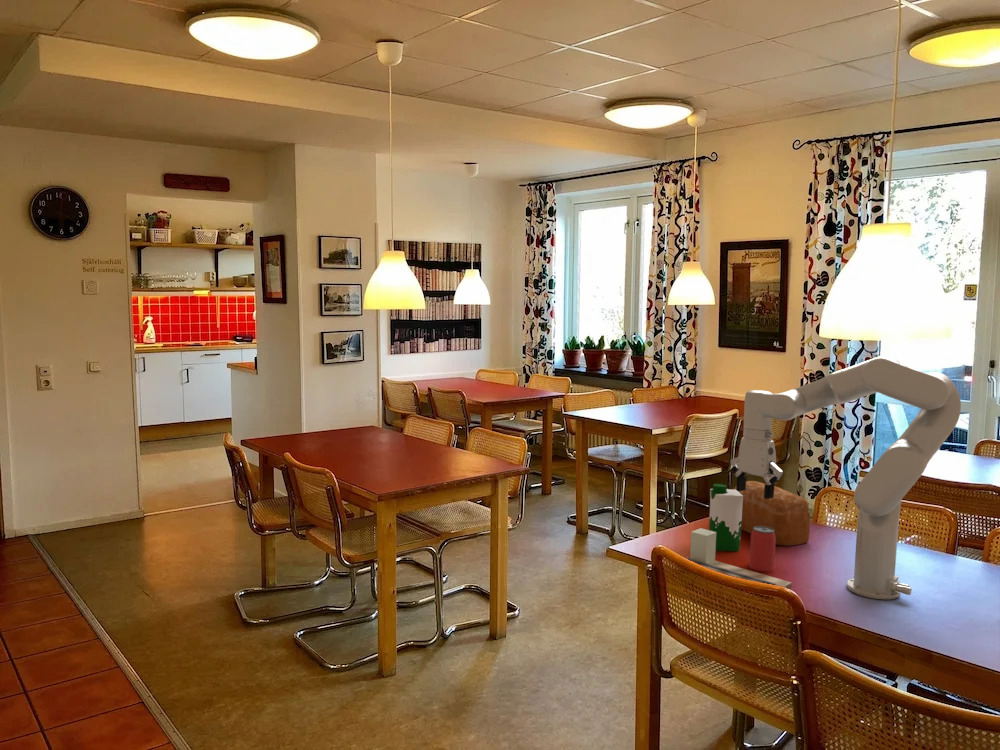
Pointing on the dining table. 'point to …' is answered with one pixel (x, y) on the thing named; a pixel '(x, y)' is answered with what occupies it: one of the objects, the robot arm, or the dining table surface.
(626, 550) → the dining table surface
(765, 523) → the bread
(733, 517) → the milk carton
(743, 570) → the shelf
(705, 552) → the carton
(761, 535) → the beer can
